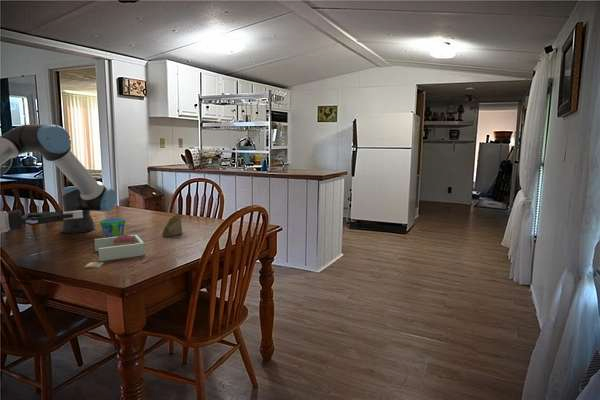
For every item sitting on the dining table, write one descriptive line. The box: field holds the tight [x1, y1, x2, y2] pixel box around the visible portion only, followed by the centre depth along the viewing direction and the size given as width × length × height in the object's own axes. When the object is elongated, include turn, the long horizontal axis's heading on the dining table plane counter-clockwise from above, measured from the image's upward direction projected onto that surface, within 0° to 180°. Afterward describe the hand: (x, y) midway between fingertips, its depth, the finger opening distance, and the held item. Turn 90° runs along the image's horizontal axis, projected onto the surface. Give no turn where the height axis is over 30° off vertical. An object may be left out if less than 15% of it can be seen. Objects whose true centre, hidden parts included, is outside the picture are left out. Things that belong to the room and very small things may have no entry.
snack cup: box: [99, 217, 127, 238], centre depth 182 cm, size 16×10×10 cm
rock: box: [161, 214, 183, 237], centre depth 197 cm, size 11×9×10 cm
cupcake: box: [113, 222, 135, 246], centre depth 166 cm, size 9×8×12 cm
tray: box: [93, 234, 146, 262], centre depth 165 cm, size 17×17×5 cm
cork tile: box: [84, 261, 105, 269], centre depth 148 cm, size 5×5×1 cm
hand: (82, 213), depth 156 cm, fingers closed
